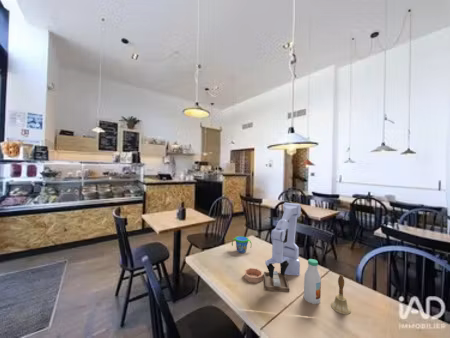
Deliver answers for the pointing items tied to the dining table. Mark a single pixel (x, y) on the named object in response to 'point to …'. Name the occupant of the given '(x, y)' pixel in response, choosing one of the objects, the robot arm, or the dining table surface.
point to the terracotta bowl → (253, 275)
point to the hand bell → (340, 299)
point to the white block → (276, 282)
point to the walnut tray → (270, 286)
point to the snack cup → (241, 243)
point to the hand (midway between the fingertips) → (276, 275)
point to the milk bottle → (312, 283)
